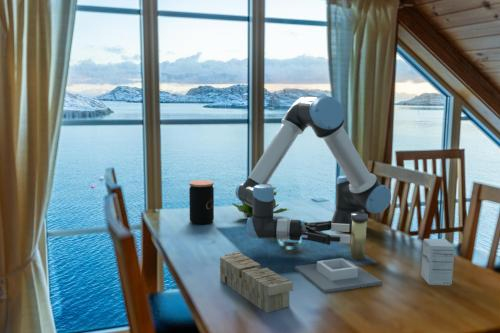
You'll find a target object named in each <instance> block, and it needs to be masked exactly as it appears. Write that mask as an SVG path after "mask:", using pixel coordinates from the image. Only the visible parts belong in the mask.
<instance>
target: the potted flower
mask: <svg viewBox="0 0 500 333" xmlns="http://www.w3.org/2000/svg"><path fill="white" fill-rule="evenodd" d="M266 185H270V186H272V184H271V183H269V182H268V183H267V184H266ZM272 187H273V189H274V190H276V188H277V187H276V186H272ZM279 190H280V189H277V191H274V197H275V196H276V197H277V194H278V192H279ZM231 204H232V205H233V206H234V207H236V208H237V210H238V212H240V213H243V214H246V215H248V216H249V217H253V207H251V206H249V205H247V204H245V203H242V204H240V205H239V204H236V203H233V202H231ZM279 205H280V203H279V204H278V203H277V202H276V199H275V198H274V209H276V208H277V207H278V206H279ZM289 210H291V209H290V208H289V209H288V208H286V207H281V208H279V209H276V210H274V211H273V214H279V213H283V212H287V211H289Z"/></svg>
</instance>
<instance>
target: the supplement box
mask: <svg viewBox="0 0 500 333" xmlns="http://www.w3.org/2000/svg"><path fill="white" fill-rule="evenodd" d="M422 244H423V245H422V256H421V260H422V261H421V269H420V270H421V271H420V272H421V273H420V274H421V275H420V276H421V277H422V278H423V279H424V281H425V282H426V283H427V285H430V286H451V285H450V284H453V283H452V282H453V272H454V263H455V262H454V261H455V251H456V250H455V248H456V246H454V245H453V244H452V243H451V242H450V241H449V240H447V239H445V238H423V242H422Z"/></svg>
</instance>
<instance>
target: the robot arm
mask: <svg viewBox="0 0 500 333" xmlns="http://www.w3.org/2000/svg"><path fill="white" fill-rule="evenodd" d="M344 112H345V111H344V108H343V105H342V103H341V101H339V100H338V99H336V98H335V97H332V96H329V95H304V96H302V97H300V98H298V99H297V100H295V102H293V104H292V105H291V106H290V107H289V108H288V110H287V111H286V112H285V114H284V116H283V117H282V119H281V125H280V127H279V128H278V130H277V132H276V133H275V134H274V136H273V138H272V139H271V141H270V143H269V144H268V146H267V147H266V149H265V150H264V152H263V154H262V155H261V157H259V159H258V162H257V163H256V164H255V166H254V167H253V169H252V171H251V173H250V174H249V175H248V177H247V178H246V180H245V181H244V182H241V183H240V184H238V185H237V187H236V189H235V193H234V194H235V197H236V199H238V201H240V202H241V204H243V203H245V204H247V205H249V206H251V207H253V217H251V216H249V217H248V218H247V220H246V226H245V227H246V236H248V237H249V238H251V239H258V240H259V239H260V240H261V239H262V240H263V239H265V240H280V242H283V241H288V240H290V241H292V242H293V241H295V242H299V241H300V240H303V241H310V242H314V243H320V244H323V245H327V246H328V245H329V246H330V245H331V243H337V244H338V243H339V244H351V235H350V234H340V233H339V234H338V233H337V234H336V233H330V234H329V233H325V232H326V231H332V232H342V233H343V232H345V233H352V220H351V213H353V212H364V211H366V212H368V214H369V213H371V214H376V215H377V214H378V215H379V214H381V213H383V212H384V211H386V209H387V208H388V207H389V205H390V203H391V202H390V201H391V198H392V192H391V190H390V188H389V187H388V186H386V185H385V184H381V182H380V180H379V178H377V176H376V174H374V173H370V171H369V169H368V168H367V166H366V164H365V163H364V161H363V159H362V157H361V155H360V154H359V152H358V151H357V149H356V147H355V145H354V143H353V142H352V140H351V138H350V136H349V135H348V134H347V131H346V130H345V128H344V124H345V119H344V117H345V116H344V114H345V113H344ZM308 127H311V129H312V130H313V133H314V134H315V136H316V137H317V138H318V139H322V140H324V142H325V144H326V146H327V147H328V149H329V151H330V152H331V154H332V156H333V157H334V159H335V161H336V163H337V164H338V166H339V168H340V169H341V172H343V175H338V177H337V178H336V184H335V186H336V189H335V190H336V191H335V192H336V193H335V210H334V213H333V215H332V219H331V220H328V221H327V220H326V221H315V222H304V224H303V225H302V221H301V220H300V219H289V218H274V213H273V211H274V212H275V208H274V199H275V196H274V190H275V189H273V187H274V186H273V185H271V186H270V185H266V184H267V183H268V184H269V182H270V179H271V178H272V176H273V175H274V173H275V172H276V170H277V169H278V168H279V166H280V164H281V163H282V161H283V159H284V158H285V157H286V155H287V153H288V152H289V150H290V148H291V146H292V145H293V144H294V142H295V141H296V139H297V137H298V135H302V134H303V133H304V132H305V130H306V129H307V128H308ZM366 229H368V228H367V225H366Z"/></svg>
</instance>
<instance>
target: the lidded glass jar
mask: <svg viewBox="0 0 500 333" xmlns="http://www.w3.org/2000/svg"><path fill="white" fill-rule="evenodd" d="M351 220H352V232H350V233H351V235H350V255H349V256H350V257H351V258H352V259H351V258H350V259H351V260H354V261H364V260H365V259H366V242H367V228H366V225H367V223H368V221H369V213H367V212H364V211H363V212H353V213H351Z"/></svg>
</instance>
